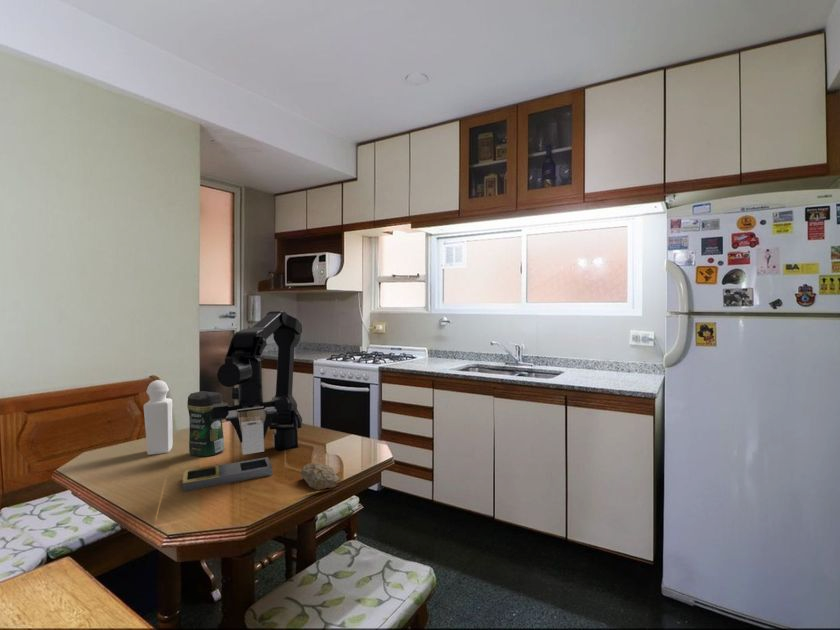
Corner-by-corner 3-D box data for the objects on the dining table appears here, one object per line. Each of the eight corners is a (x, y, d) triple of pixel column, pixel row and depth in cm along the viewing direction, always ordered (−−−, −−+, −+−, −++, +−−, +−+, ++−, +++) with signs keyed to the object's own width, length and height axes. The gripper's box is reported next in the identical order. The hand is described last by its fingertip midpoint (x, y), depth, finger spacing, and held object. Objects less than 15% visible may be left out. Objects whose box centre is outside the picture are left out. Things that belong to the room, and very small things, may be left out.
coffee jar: (184, 455, 129) (181, 393, 129) (206, 447, 137) (204, 388, 136) (207, 459, 125) (204, 395, 125) (229, 450, 133) (227, 389, 132)
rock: (314, 496, 98) (313, 476, 98) (296, 480, 107) (295, 463, 107) (345, 486, 103) (344, 468, 103) (325, 473, 112) (324, 456, 112)
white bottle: (174, 446, 139) (171, 377, 138) (169, 453, 132) (166, 380, 132) (151, 449, 136) (148, 379, 136) (145, 456, 130) (142, 382, 130)
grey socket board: (268, 465, 118) (267, 456, 118) (272, 476, 110) (272, 466, 110) (184, 480, 110) (184, 470, 109) (182, 493, 101) (182, 482, 101)
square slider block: (262, 446, 116) (261, 419, 115) (264, 451, 111) (263, 423, 111) (241, 449, 113) (240, 422, 113) (243, 454, 109) (241, 426, 109)
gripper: (282, 373, 123) (285, 427, 124) (209, 379, 115) (212, 438, 115) (289, 378, 113) (291, 437, 114) (209, 385, 105) (212, 450, 105)
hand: (252, 440), depth 112 cm, fingers closed on square slider block, 5 cm apart
